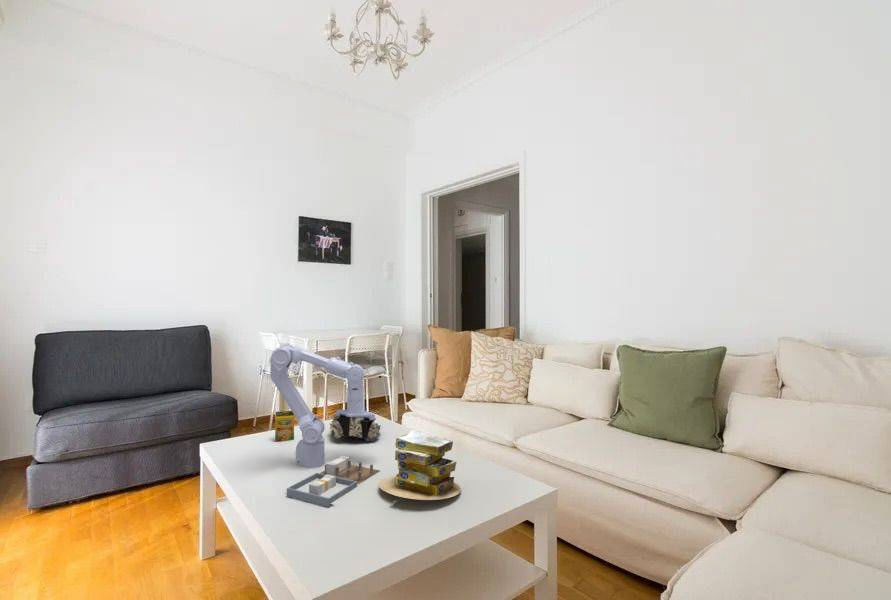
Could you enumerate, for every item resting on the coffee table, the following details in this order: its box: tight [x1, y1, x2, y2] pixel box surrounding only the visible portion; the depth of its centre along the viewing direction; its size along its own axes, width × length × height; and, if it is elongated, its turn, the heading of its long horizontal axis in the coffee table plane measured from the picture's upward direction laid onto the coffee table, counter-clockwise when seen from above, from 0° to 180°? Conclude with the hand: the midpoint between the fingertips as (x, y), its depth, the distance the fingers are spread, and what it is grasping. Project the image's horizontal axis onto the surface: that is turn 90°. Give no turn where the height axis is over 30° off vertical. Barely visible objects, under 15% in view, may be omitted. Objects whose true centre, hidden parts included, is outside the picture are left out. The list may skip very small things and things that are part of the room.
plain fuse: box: [325, 455, 351, 475], centre depth 151 cm, size 3×8×3 cm, turn 154°
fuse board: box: [320, 459, 381, 485], centre depth 149 cm, size 17×12×4 cm
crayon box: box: [274, 410, 295, 442], centre depth 186 cm, size 7×3×12 cm, turn 111°
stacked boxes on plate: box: [377, 429, 462, 501], centre depth 137 cm, size 25×25×17 cm
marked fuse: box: [308, 475, 337, 496], centre depth 136 cm, size 3×8×3 cm, turn 154°
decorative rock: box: [329, 413, 381, 443], centre depth 192 cm, size 22×26×10 cm
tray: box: [286, 472, 358, 509], centre depth 136 cm, size 16×13×2 cm
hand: (355, 437), depth 159 cm, fingers open, 7 cm apart
